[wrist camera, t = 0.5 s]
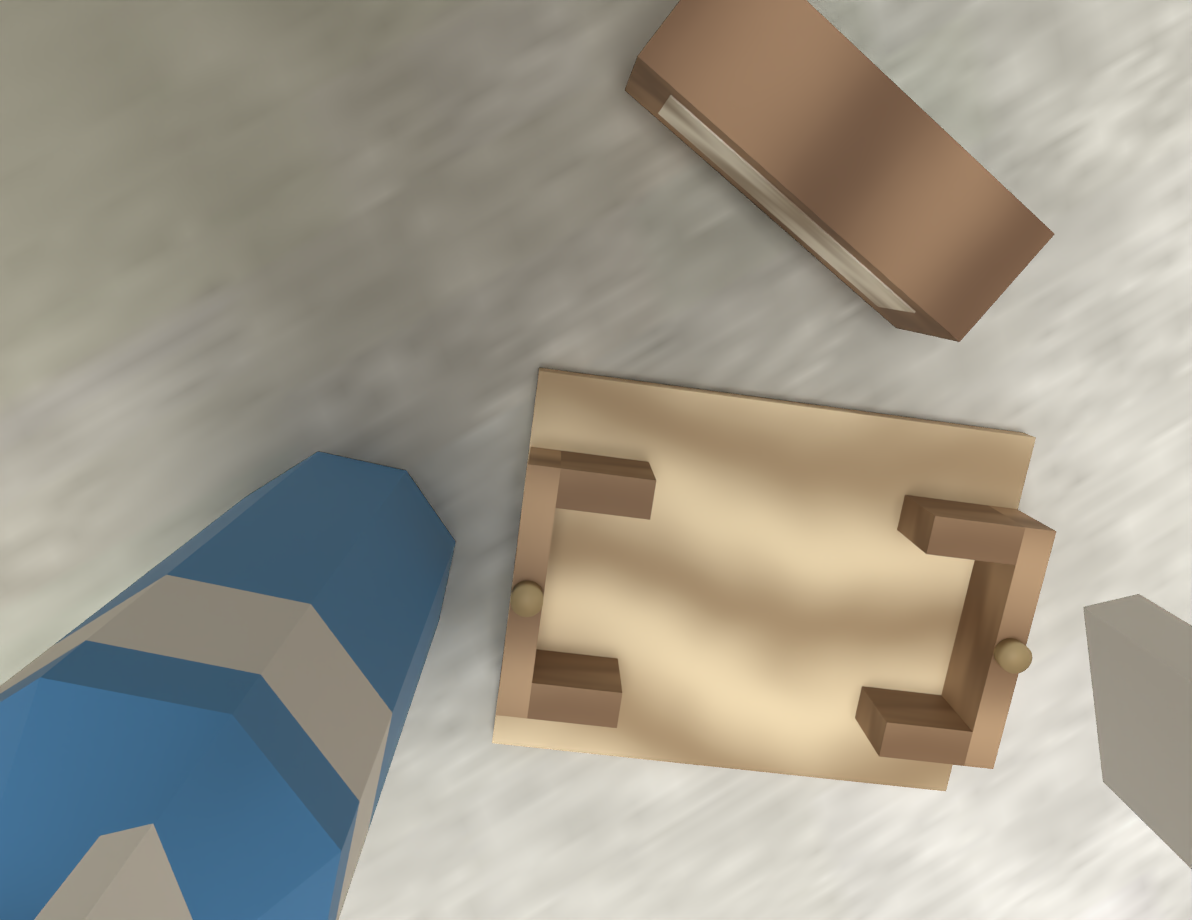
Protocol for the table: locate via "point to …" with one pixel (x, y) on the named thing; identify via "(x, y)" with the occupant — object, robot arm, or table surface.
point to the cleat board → (766, 584)
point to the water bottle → (234, 700)
